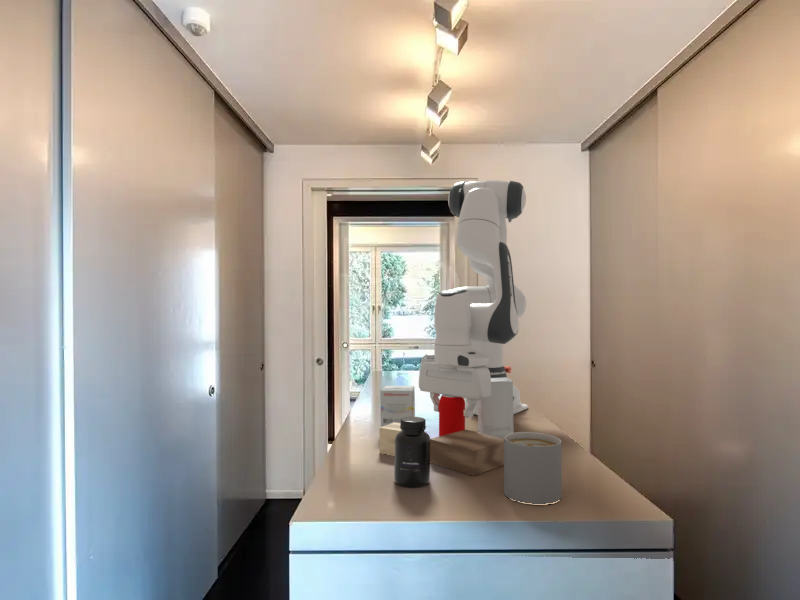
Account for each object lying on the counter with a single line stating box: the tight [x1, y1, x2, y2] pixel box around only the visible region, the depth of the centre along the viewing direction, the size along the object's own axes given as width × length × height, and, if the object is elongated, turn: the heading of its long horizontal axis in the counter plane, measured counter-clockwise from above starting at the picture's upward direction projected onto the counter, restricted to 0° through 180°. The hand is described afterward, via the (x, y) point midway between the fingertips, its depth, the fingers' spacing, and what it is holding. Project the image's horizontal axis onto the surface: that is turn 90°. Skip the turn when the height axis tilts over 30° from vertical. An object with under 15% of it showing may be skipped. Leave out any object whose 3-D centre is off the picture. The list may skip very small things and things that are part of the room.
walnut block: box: [430, 429, 504, 477], centre depth 111 cm, size 12×12×5 cm
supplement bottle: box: [393, 416, 431, 488], centre depth 100 cm, size 7×7×12 cm
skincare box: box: [477, 376, 515, 438], centre depth 132 cm, size 8×6×15 cm
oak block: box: [379, 422, 401, 457], centre depth 119 cm, size 6×6×6 cm
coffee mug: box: [503, 431, 563, 504], centre depth 95 cm, size 13×10×10 cm
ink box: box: [379, 385, 416, 427], centre depth 138 cm, size 9×9×12 cm
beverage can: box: [438, 394, 466, 437], centre depth 125 cm, size 6×6×12 cm
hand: (452, 414), depth 125 cm, fingers open, 8 cm apart
